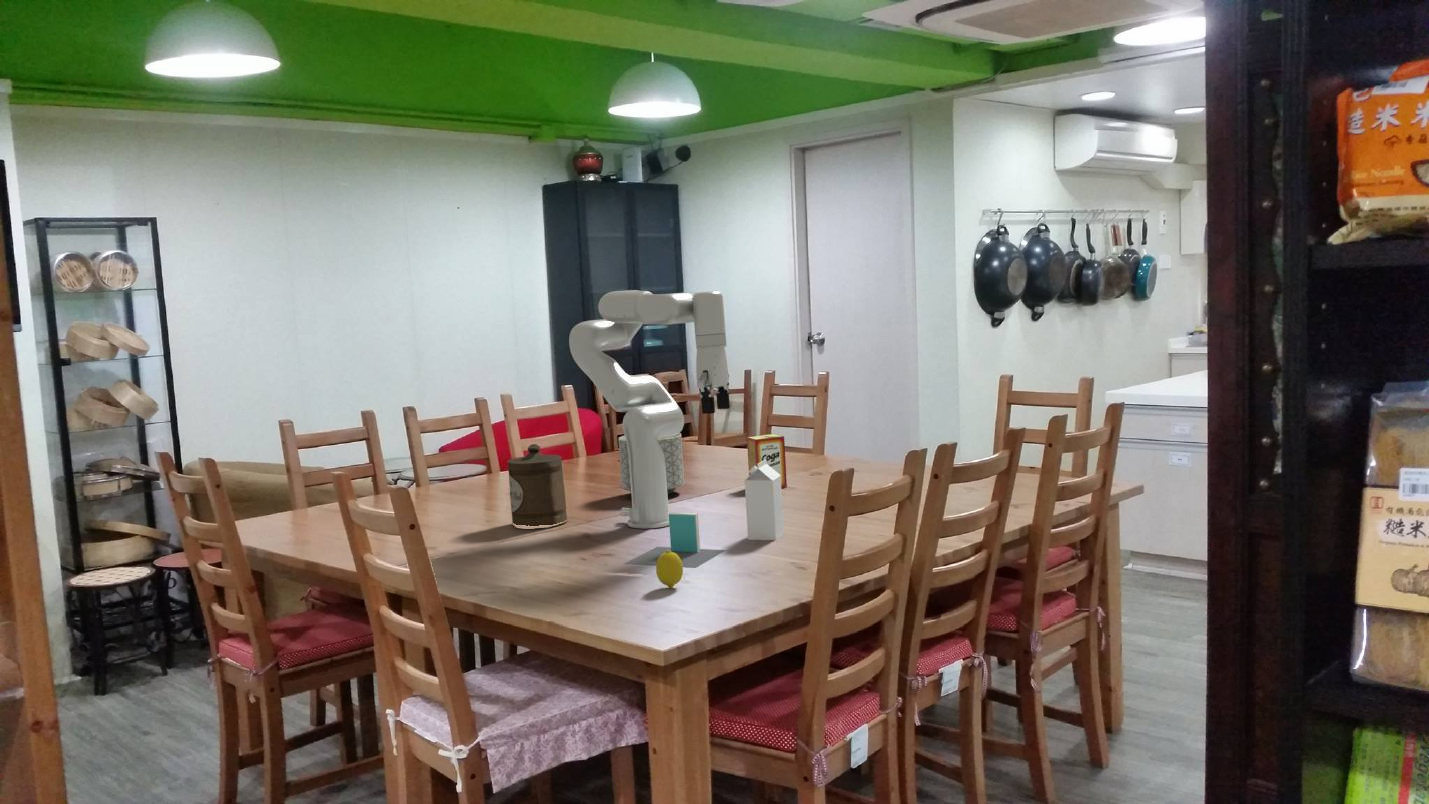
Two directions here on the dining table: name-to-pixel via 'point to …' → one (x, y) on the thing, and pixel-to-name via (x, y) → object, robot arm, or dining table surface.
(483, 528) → the dining table surface
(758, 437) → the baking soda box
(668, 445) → the planter
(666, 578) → the lemon
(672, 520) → the tile
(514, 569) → the dining table surface
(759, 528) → the milk carton
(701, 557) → the mat
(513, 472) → the wooden container
